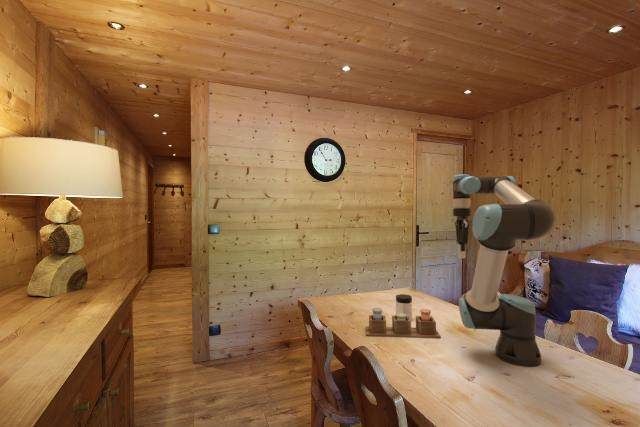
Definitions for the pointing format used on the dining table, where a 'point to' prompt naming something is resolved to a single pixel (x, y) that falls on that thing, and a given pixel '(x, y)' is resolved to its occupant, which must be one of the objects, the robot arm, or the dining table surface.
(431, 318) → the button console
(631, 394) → the dining table surface
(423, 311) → the terracotta plunger
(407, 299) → the jar
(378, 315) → the pale grey canister
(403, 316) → the sage plunger
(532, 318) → the robot arm
